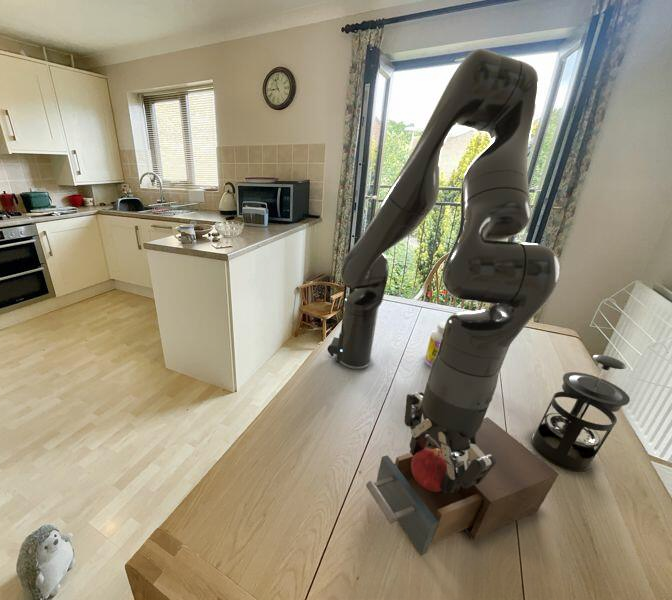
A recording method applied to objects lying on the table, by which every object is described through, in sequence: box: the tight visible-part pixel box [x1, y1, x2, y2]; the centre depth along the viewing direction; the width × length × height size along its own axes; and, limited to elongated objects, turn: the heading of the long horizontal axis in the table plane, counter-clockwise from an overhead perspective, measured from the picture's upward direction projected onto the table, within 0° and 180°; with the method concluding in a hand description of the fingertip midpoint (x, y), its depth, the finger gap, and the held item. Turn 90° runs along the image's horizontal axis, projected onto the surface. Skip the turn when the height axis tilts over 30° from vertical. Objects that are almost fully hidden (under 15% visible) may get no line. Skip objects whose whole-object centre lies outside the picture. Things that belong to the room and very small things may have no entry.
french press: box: [530, 354, 631, 473], centre depth 60 cm, size 12×9×23 cm
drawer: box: [365, 445, 484, 556], centre depth 51 cm, size 18×11×8 cm, turn 108°
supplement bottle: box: [424, 321, 447, 367], centre depth 89 cm, size 7×7×13 cm
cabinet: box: [425, 416, 560, 541], centre depth 55 cm, size 15×13×10 cm
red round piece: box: [411, 448, 447, 492], centre depth 49 cm, size 6×6×8 cm
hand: (431, 470), depth 49 cm, fingers closed on red round piece, 6 cm apart
